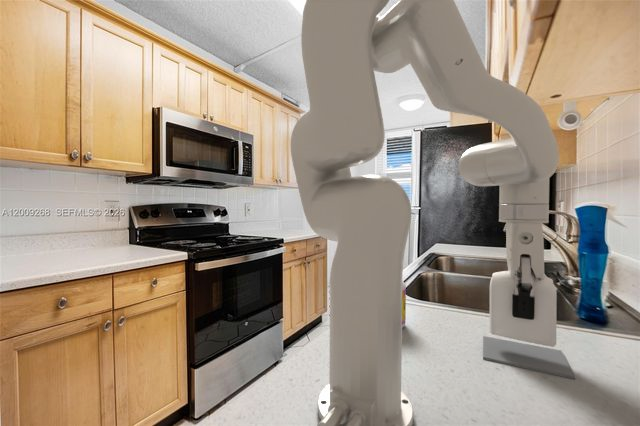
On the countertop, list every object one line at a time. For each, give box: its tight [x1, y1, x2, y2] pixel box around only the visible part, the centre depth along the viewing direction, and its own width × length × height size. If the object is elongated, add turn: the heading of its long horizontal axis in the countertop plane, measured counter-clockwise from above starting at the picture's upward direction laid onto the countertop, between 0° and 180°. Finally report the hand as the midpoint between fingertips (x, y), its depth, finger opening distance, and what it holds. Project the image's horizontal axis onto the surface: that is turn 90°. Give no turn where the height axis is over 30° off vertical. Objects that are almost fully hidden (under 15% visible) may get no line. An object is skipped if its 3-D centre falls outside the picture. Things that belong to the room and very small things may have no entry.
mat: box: [482, 335, 576, 380], centre depth 56 cm, size 10×13×1 cm
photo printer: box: [489, 270, 558, 348], centre depth 55 cm, size 10×4×12 cm, turn 54°
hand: (521, 312), depth 55 cm, fingers closed on photo printer, 4 cm apart
